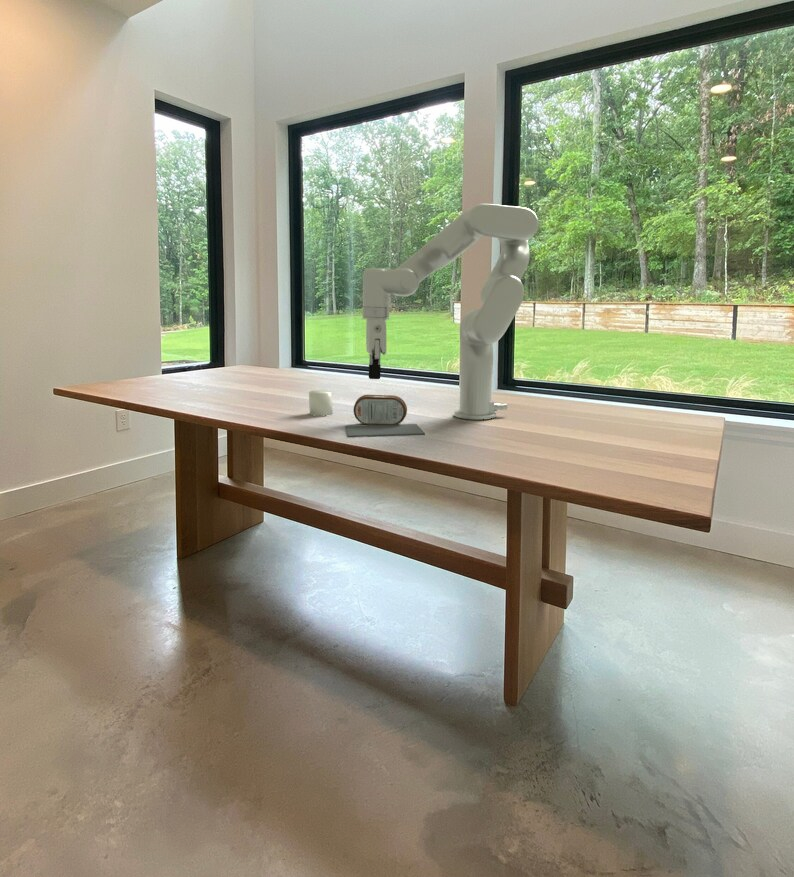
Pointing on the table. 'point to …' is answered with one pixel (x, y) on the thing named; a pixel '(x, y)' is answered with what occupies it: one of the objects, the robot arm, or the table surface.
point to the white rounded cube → (320, 402)
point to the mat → (384, 430)
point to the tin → (380, 410)
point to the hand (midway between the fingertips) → (374, 378)
